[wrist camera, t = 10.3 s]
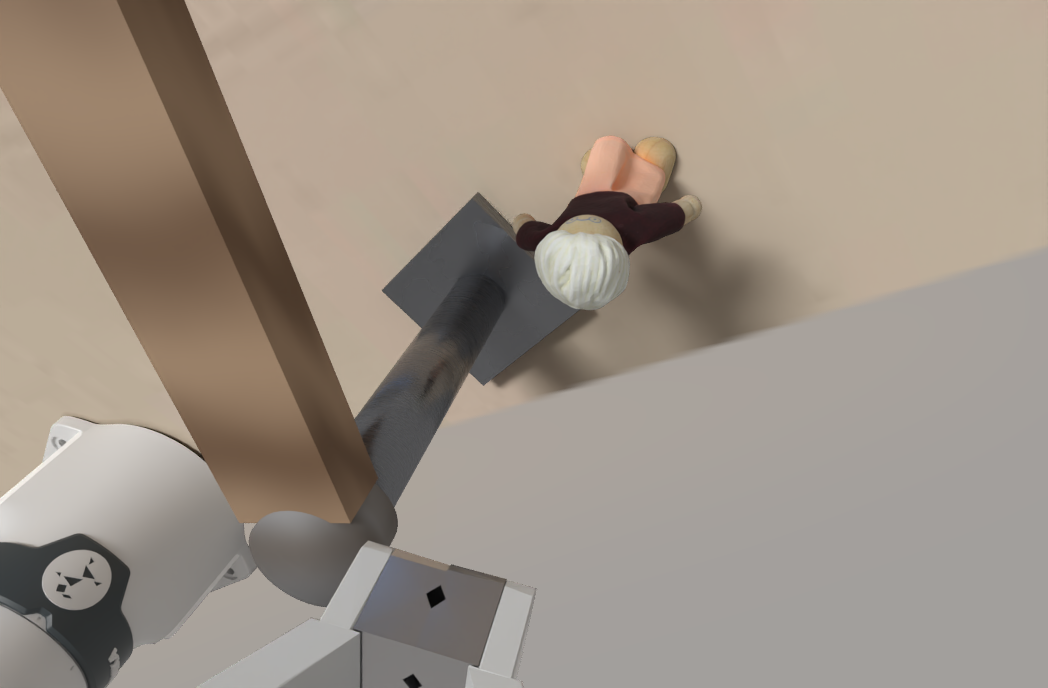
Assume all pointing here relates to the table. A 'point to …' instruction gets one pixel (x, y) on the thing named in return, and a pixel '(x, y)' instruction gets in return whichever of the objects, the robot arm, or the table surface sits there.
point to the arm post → (454, 333)
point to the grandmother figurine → (606, 221)
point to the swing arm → (198, 271)
